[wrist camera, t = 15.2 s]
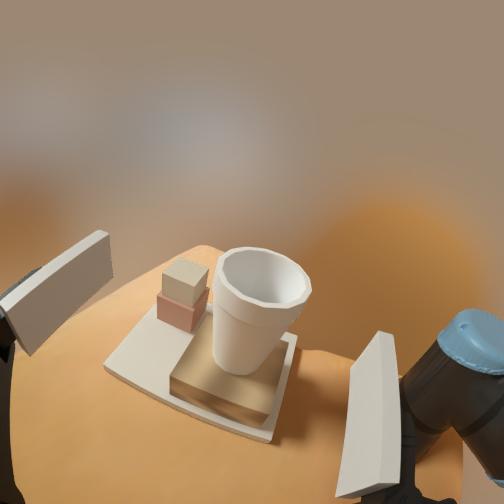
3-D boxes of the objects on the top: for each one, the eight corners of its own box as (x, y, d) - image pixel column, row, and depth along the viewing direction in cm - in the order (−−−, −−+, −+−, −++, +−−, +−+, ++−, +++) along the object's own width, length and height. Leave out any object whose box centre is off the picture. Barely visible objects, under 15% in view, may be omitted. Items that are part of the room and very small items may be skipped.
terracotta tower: (205, 310, 45) (213, 267, 40) (190, 333, 40) (196, 290, 35) (174, 297, 46) (178, 253, 41) (156, 318, 40) (157, 273, 36)
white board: (294, 341, 45) (297, 335, 45) (267, 443, 28) (271, 440, 28) (169, 292, 48) (170, 286, 47) (104, 369, 31) (102, 364, 30)
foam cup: (285, 377, 31) (329, 301, 25) (214, 393, 27) (237, 315, 20) (256, 323, 38) (283, 246, 32) (192, 331, 34) (205, 247, 28)
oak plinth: (278, 362, 39) (289, 342, 36) (258, 429, 29) (269, 414, 26) (204, 334, 40) (208, 312, 38) (169, 394, 30) (169, 375, 28)
